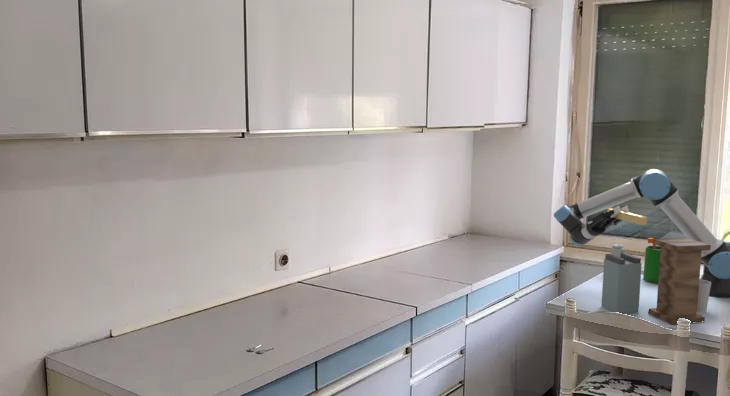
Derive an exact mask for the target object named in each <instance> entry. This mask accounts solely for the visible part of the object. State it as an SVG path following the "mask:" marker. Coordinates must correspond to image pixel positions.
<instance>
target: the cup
mask: <svg viewBox="0 0 730 396" xmlns="http://www.w3.org/2000/svg"><path fill="white" fill-rule="evenodd" d="M710 287H711V282H710V281H707V280H703V279H701V278H700V279H699V292H698V305H697V312H700V313H699V314H706V313H707V311H708V306H709V305H708V304H709V298H710V295H709V293H710ZM705 312H706V313H705Z"/></svg>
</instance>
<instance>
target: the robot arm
mask: <svg viewBox="0 0 730 396" xmlns="http://www.w3.org/2000/svg"><path fill="white" fill-rule="evenodd" d="M637 198H640V199H641V198H647V199H648V200H649V202H651V204H652V205H653V206H654V207H655V208H660V209H661V210H662V211H663V212H664V213H665V214H666V215H667V216H668V218H669V219H670V220H671V221H672V222H673V223H674V224H675V227H677V228H678V229H679V231H680V232H681V234H683V235H684V236H685V238H688V239H691V240H695V241H698V242H702V243H706V244H709V245H711V247H710V250H703V251H702V253H701V262H702V263H703V271H702V275H701V277H700V279H703V280H707V281H710V282H711V287H710V293H709V296H712V297H719V298H730V241H724V240H723V239H718V238H716V236H714V234H713V233H712V232H711V231H710V230H709V228H708V227H707V226H706V224H704V223H703V221H701V220H700V218H699V217H698V216H697V215H696V213H694V211H692V209H691V208H690V207H689V205H687V204H686V202H685V201H684V200H683V199H682V198H681V197H680V196H679V188H678V187H677V186H676V185H675V184H674V183H673V182H672V181H671V180H670V178H669V177H668V175H667V174H666V173H665V172H664V171H662V170H661V169H657V168H651V169H649V170H645V171H644V172H643V173H641V174H639V175H637V176H635V177H632V178H631V179H630V181H628V182H626V183H623V184H620V185H618V186H616V187H614V188H611V189H609V190H606V191H604V192H602V193H599V194H596V195H593V196H591V197H589V198H586V199H584V200H582V201H579V202H577V203H575V204H572V205H565V204H563V205H562V206H561V207H560V208H559V209H557V210H556V211H555V212H554V213H553V217H554V218H555V220H556V221H557V222H558V223H560V225H561V226H562V227H563V228H564V229H565V230H566V231H567V232H568V233H569V240H570V242H571V244H572V245H574V246H576V247H581V246H584V245H586V244H588V243H589V242H591V241H592V240H594V239H596V238H597V237H598V236H600V235H602V234H604V233H605V231H606V229H607V228H608V227H610V226H611V225H613V226H617V225H618V224H619V223H621V221H622V220H621V219H617V218H614V216H616V215H617V214H619V213H620V212H621V210H622V211H626V212H630V209H629V206H628V205H624V206H623V207H622V208H621V207H620V204H623V203H624V202H625V203H626V202H628V201H630V200H633V199H637ZM612 208H614V209H612ZM607 209H612V210H611V211H609V212H607V211H605V210H607ZM602 211H605V212H602ZM600 212H601V213H600ZM597 213H600V214H597ZM594 214H597V215H595V216H594V217H592V218H590V219H588V220H587V222H585V223H583V222H582V219H584V218H588V217H590V216H591V215H594Z"/></svg>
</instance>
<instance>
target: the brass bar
mask: <svg viewBox="0 0 730 396" xmlns="http://www.w3.org/2000/svg"><path fill="white" fill-rule="evenodd" d="M614 208H615V207H611V208H608V209H606V210H607V211H606V212H609V211H611V210H612V209H614ZM614 218H617V219H621V221H624V222H628V223H632V224H636V225H638V226H647V225H648V216H644V215H640V214H637V213H633V212H630V211H629V212H626V211H622V210H621V212H620V213H619V214H617V215H616V216H614Z"/></svg>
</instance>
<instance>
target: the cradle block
mask: <svg viewBox="0 0 730 396" xmlns="http://www.w3.org/2000/svg"><path fill="white" fill-rule="evenodd" d="M604 255H605V258H604V259H603V271H602V274H603V275H602V290H601V291H602V292H601V306H600V307H601V308H603V309H605V310H607V311H609V312H611V313H613V312H619V313H625V314H637V312H638V313H639V310H640V309H639V307H640V295H641V294H640V293H641V292H640V291H641V279H642V277H641V276H642V264H643V263H641V262H642V261H641V260H642V259H641V257H638V256H635V255H632V254H629V253H627V252H625V253H621V258H620V257H617V256H615V255H612V254H611V253H605V254H604Z"/></svg>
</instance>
